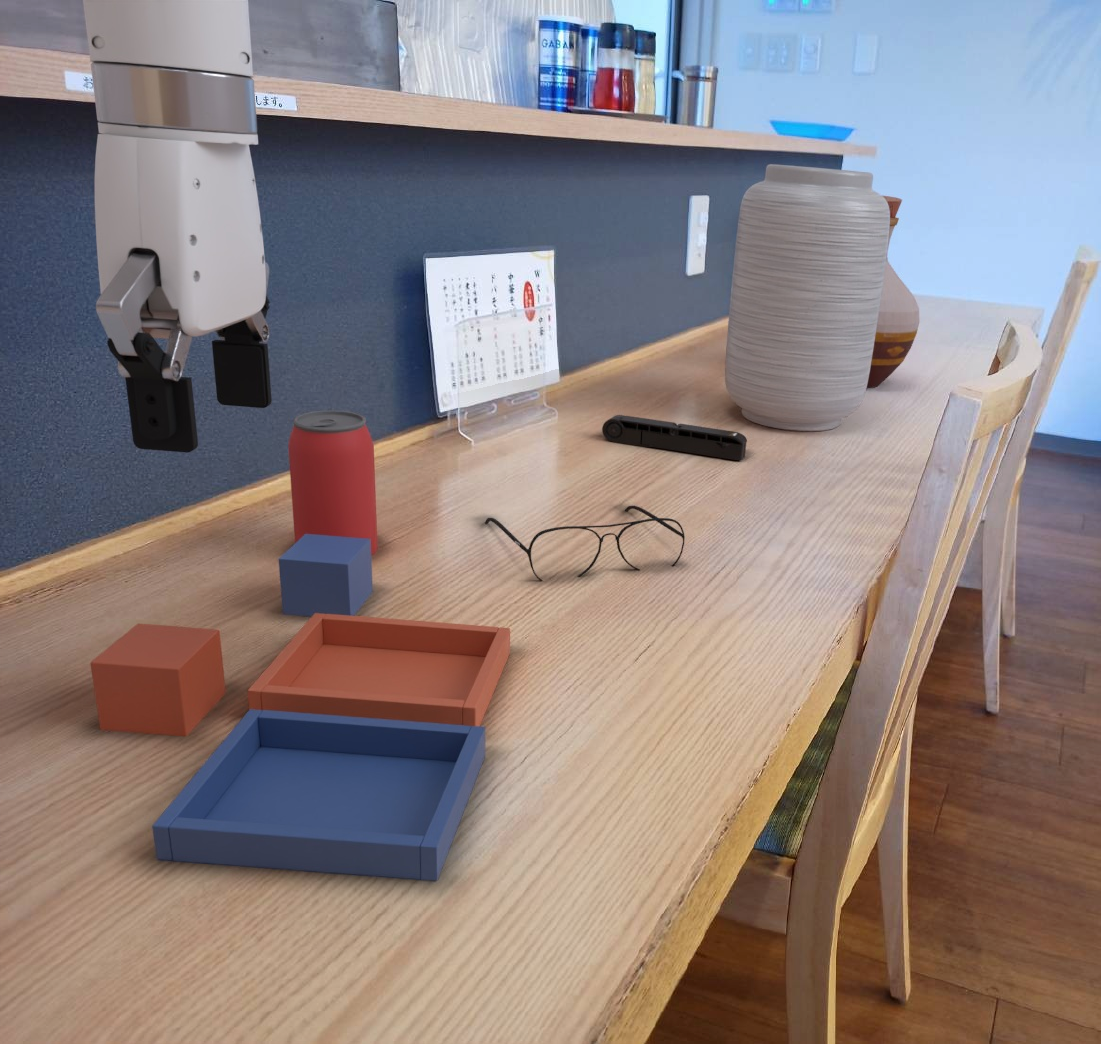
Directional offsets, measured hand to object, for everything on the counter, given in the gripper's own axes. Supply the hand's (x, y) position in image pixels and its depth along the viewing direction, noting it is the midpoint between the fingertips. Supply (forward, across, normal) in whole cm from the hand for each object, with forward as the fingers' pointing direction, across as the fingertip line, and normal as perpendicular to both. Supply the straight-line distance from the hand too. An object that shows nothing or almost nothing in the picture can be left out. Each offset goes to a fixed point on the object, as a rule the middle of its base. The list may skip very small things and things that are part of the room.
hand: (208, 425), depth 58 cm
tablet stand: (+18, -61, +27) cm, 69 cm away
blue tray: (+17, +12, +11) cm, 24 cm away
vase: (+17, -81, +43) cm, 93 cm away
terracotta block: (+17, +4, -2) cm, 18 cm away
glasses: (+18, -27, +19) cm, 38 cm away
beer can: (+18, -22, -1) cm, 28 cm away
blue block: (+17, -12, +2) cm, 21 cm away
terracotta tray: (+17, 0, +10) cm, 20 cm away
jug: (+17, -110, +57) cm, 125 cm away
